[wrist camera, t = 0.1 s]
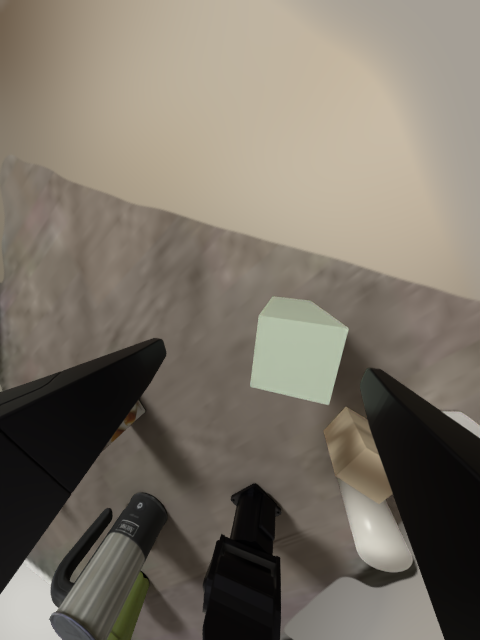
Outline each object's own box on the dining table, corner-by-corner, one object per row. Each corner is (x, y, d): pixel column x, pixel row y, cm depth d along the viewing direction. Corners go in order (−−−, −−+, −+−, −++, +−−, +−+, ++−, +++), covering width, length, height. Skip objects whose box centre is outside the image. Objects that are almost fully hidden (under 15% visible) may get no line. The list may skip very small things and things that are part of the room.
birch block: (356, 451, 24) (378, 504, 18) (323, 430, 24) (335, 476, 19) (381, 427, 22) (414, 477, 17) (345, 406, 23) (366, 447, 17)
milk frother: (160, 492, 36) (82, 626, 22) (183, 549, 39) (126, 702, 25) (111, 488, 40) (19, 599, 26) (135, 540, 43) (63, 667, 29)
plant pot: (113, 557, 47) (63, 638, 37) (145, 562, 44) (100, 652, 33) (132, 589, 49) (89, 676, 38) (164, 596, 45) (127, 694, 34)
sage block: (303, 336, 22) (328, 404, 10) (267, 330, 23) (250, 386, 11) (310, 300, 21) (348, 328, 9) (272, 296, 22) (258, 315, 10)
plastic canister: (354, 499, 26) (379, 576, 19) (329, 475, 26) (345, 543, 19) (385, 486, 24) (424, 565, 17) (359, 461, 24) (388, 529, 17)
